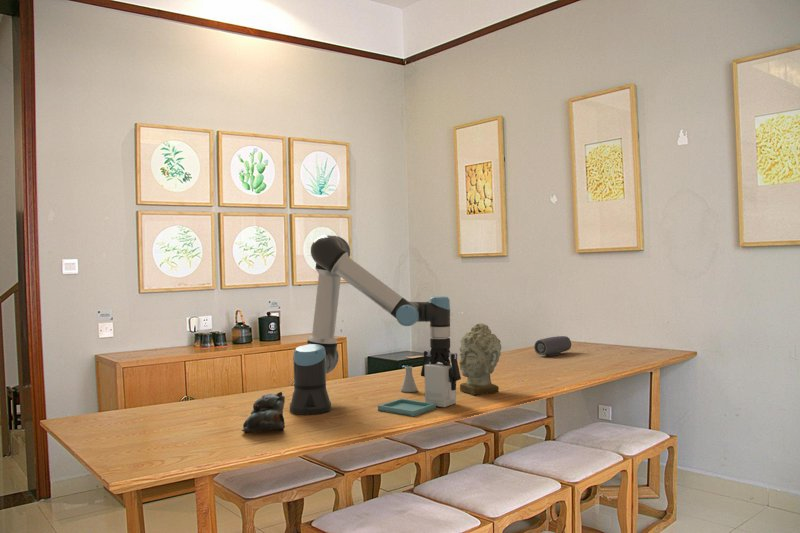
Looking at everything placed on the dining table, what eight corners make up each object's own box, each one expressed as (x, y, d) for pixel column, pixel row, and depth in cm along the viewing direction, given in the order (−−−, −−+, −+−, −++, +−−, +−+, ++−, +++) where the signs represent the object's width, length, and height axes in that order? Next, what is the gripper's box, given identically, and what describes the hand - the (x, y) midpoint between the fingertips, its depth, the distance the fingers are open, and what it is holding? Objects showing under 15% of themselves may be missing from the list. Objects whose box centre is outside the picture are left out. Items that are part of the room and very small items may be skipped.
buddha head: (449, 390, 269) (448, 323, 269) (486, 386, 278) (485, 320, 278) (472, 398, 254) (471, 327, 254) (510, 393, 263) (509, 324, 262)
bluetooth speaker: (558, 352, 370) (558, 334, 370) (572, 353, 363) (572, 335, 362) (533, 356, 355) (533, 338, 355) (547, 358, 348) (547, 339, 348)
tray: (412, 416, 227) (412, 411, 227) (377, 410, 237) (377, 405, 237) (435, 408, 238) (435, 403, 238) (401, 403, 248) (401, 398, 248)
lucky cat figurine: (233, 432, 209) (239, 390, 216) (262, 439, 217) (266, 399, 224) (264, 425, 201) (269, 382, 207) (293, 433, 209) (297, 391, 216)
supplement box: (457, 403, 245) (456, 363, 245) (445, 407, 238) (444, 367, 238) (436, 400, 250) (436, 361, 250) (424, 404, 243) (423, 364, 243)
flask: (416, 393, 265) (415, 368, 265) (398, 392, 267) (398, 368, 267) (419, 389, 273) (418, 365, 272) (402, 389, 274) (401, 365, 274)
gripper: (470, 338, 240) (470, 399, 240) (422, 334, 253) (422, 391, 254) (459, 340, 234) (459, 402, 234) (410, 336, 247) (411, 395, 248)
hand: (440, 397), depth 244 cm, fingers closed on supplement box, 9 cm apart
